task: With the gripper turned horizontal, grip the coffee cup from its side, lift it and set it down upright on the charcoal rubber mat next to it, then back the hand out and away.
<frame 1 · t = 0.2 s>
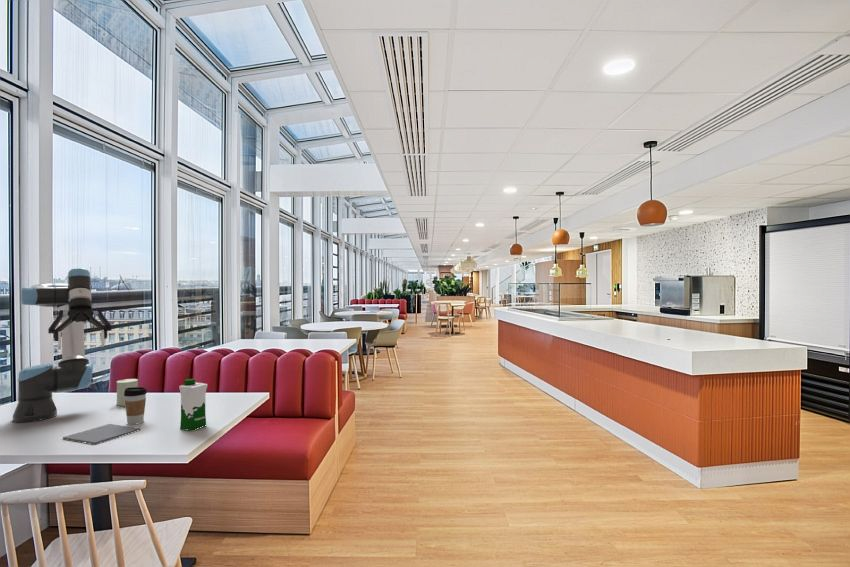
hand: (81, 346, 175), 36 cm above the table, tool tilted 35°, fingers open, 13 cm apart
mat: (102, 434, 178), on the table
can: (127, 403, 227), on the table
coffee cup: (135, 422, 194), on the table
milk carton: (193, 428, 187), on the table
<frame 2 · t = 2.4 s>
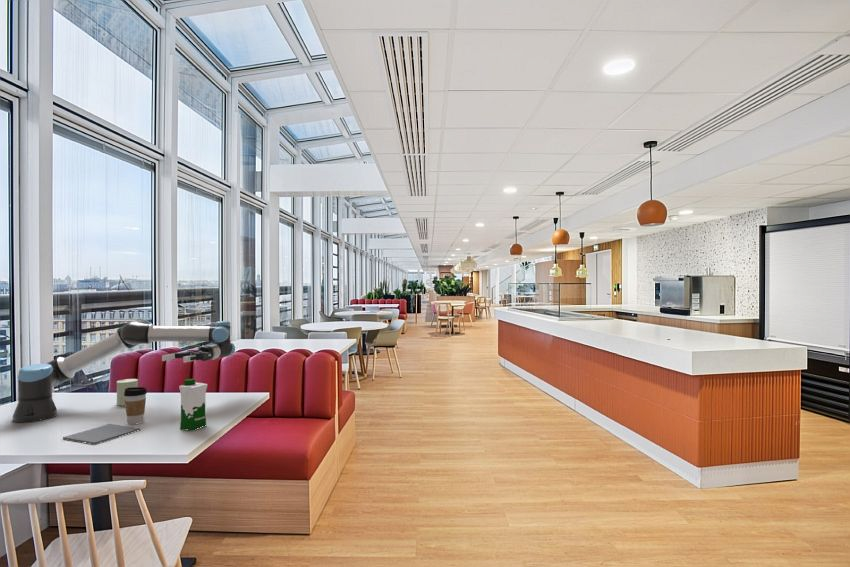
hand: (172, 359, 212), 25 cm above the table, tool horizontal, fingers open, 13 cm apart
nothing on the table moved.
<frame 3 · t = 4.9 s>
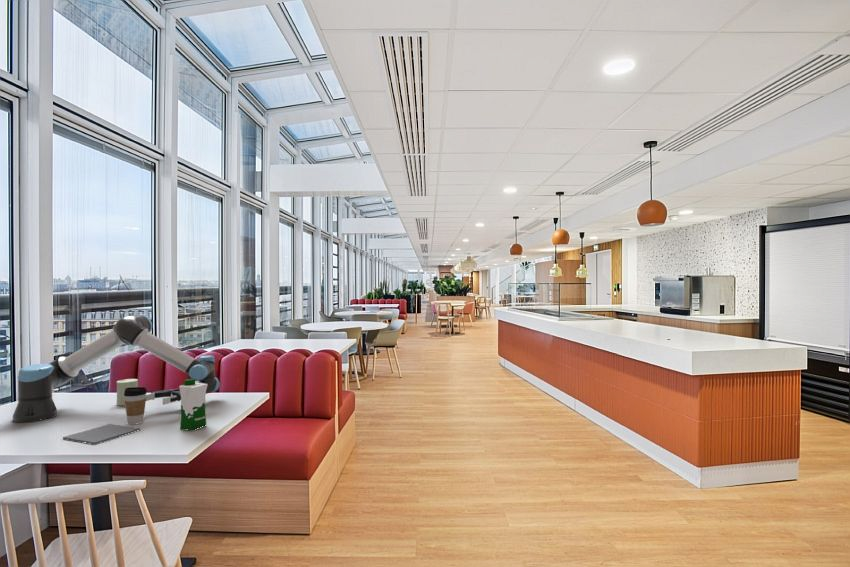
hand: (151, 400, 201), 8 cm above the table, tool horizontal, fingers open, 13 cm apart
nothing on the table moved.
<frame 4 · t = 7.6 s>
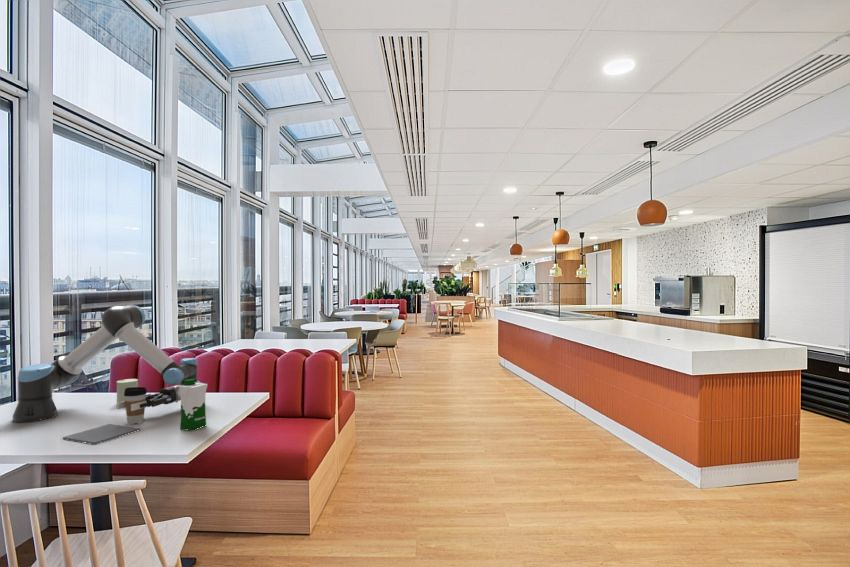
hand: (124, 406, 190), 8 cm above the table, tool horizontal, fingers closed on coffee cup, 7 cm apart
coffee cup: (135, 422, 194), on the table, touching gripper
everything else where it was.
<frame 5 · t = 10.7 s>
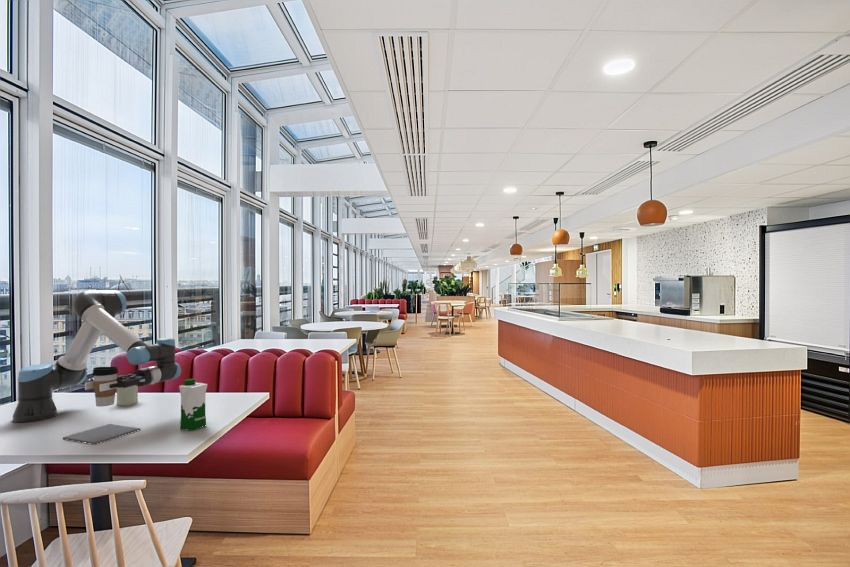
hand: (92, 387, 174), 20 cm above the table, tool horizontal, fingers closed on coffee cup, 7 cm apart
coffee cup: (105, 405, 179), point 12 cm above the table, touching gripper
everything else where it was.
when the fingers open (10 cm above the table, at t = 13.4 s): coffee cup drops 1 cm, resting on mat.
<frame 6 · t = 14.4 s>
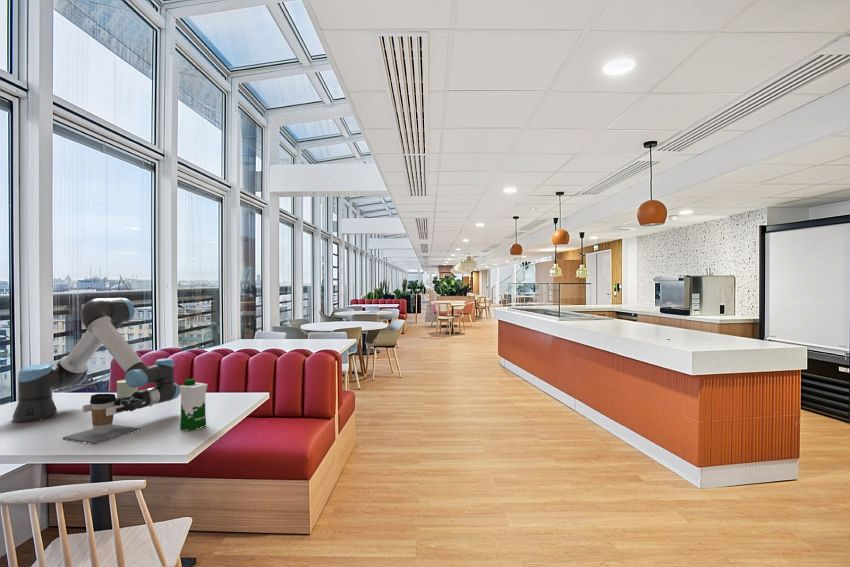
hand: (94, 410, 175), 10 cm above the table, tool horizontal, fingers open, 13 cm apart
coffee cup: (102, 432, 178), point 1 cm above the table, touching mat
everything else where it was.
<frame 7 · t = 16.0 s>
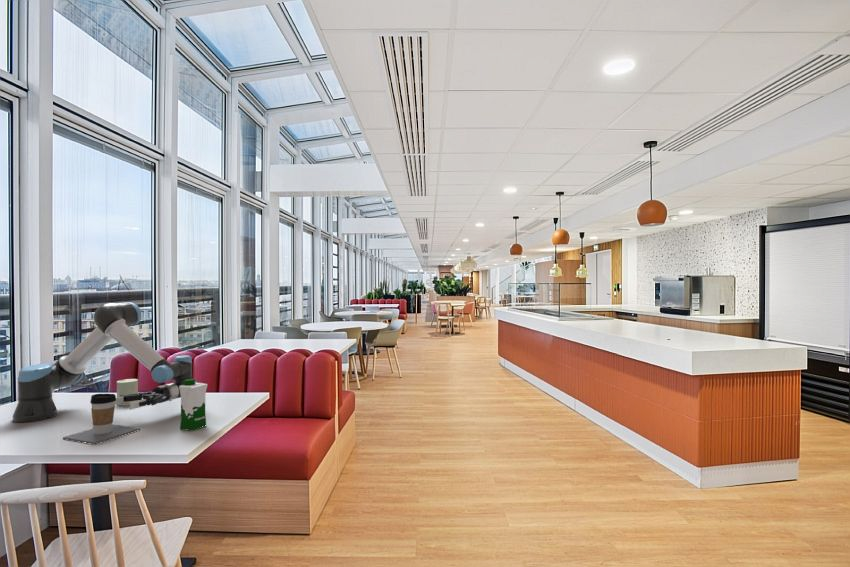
hand: (118, 404, 184), 10 cm above the table, tool horizontal, fingers open, 13 cm apart
nothing on the table moved.
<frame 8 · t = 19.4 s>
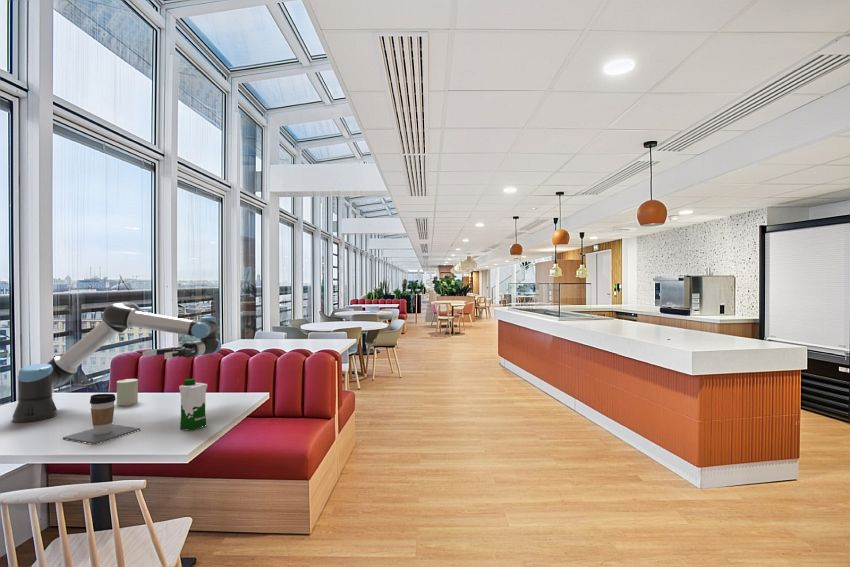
hand: (153, 355, 203), 28 cm above the table, tool horizontal, fingers open, 13 cm apart
nothing on the table moved.
at the end: coffee cup inside the target area on the mat (0.2 cm from its centre), point 0.6 cm above the mat's base; coffee cup tilted 0°; the gripper is holding nothing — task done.
